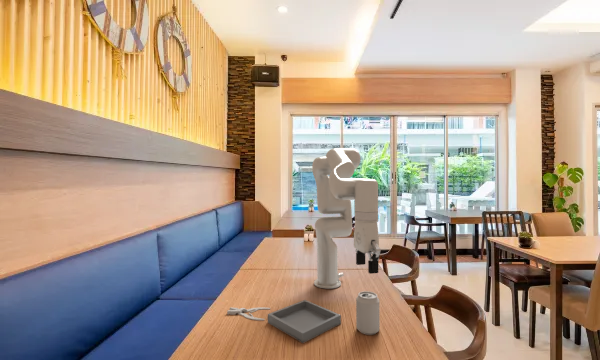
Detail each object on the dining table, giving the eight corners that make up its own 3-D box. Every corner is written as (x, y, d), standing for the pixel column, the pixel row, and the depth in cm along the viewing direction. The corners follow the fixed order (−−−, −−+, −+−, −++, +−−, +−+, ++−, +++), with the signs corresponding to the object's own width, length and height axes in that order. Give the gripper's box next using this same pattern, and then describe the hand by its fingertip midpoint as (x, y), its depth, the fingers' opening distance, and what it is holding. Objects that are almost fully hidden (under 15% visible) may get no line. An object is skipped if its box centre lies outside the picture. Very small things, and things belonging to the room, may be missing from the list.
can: (364, 322, 106) (364, 288, 106) (383, 330, 101) (383, 294, 100) (351, 330, 101) (351, 294, 101) (371, 338, 95) (371, 300, 95)
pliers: (264, 317, 108) (223, 314, 110) (264, 321, 108) (223, 319, 110) (270, 305, 118) (233, 303, 120) (270, 309, 118) (233, 307, 120)
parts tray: (305, 307, 119) (305, 299, 118) (340, 323, 105) (340, 314, 105) (267, 322, 106) (267, 314, 106) (302, 343, 93) (302, 333, 93)
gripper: (346, 214, 108) (346, 262, 108) (366, 220, 91) (367, 277, 91) (365, 213, 109) (366, 260, 110) (390, 219, 92) (390, 276, 93)
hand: (366, 268), depth 100 cm, fingers open, 9 cm apart
